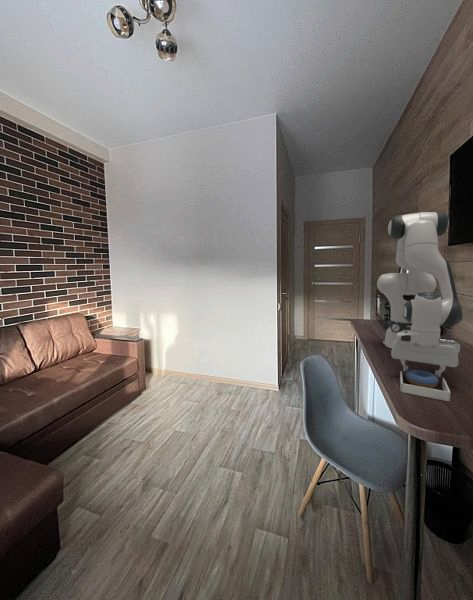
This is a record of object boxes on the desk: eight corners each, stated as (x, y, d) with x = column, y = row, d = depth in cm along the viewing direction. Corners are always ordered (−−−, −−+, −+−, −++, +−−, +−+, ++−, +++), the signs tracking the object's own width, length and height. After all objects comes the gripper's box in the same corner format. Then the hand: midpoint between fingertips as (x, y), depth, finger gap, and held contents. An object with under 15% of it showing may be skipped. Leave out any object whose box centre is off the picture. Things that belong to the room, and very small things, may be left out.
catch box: (399, 378, 102) (400, 370, 102) (443, 386, 96) (444, 378, 95) (400, 391, 91) (401, 383, 91) (449, 401, 85) (450, 392, 84)
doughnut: (424, 390, 91) (426, 377, 91) (398, 380, 101) (399, 368, 101) (445, 389, 95) (446, 376, 94) (417, 379, 104) (419, 368, 104)
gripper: (459, 339, 96) (455, 376, 97) (392, 332, 106) (390, 365, 108) (463, 343, 90) (458, 382, 92) (392, 335, 100) (390, 371, 102)
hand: (421, 373), depth 100 cm, fingers open, 8 cm apart
